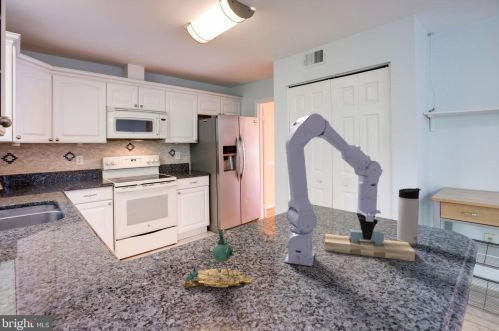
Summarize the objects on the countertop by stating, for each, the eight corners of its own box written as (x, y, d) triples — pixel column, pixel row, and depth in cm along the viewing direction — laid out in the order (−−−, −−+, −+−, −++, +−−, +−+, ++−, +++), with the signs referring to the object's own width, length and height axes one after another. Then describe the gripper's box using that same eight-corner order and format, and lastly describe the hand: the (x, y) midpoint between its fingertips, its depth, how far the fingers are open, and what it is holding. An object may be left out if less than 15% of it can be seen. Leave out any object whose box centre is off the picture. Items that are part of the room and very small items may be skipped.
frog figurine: (188, 271, 70) (193, 219, 69) (252, 279, 69) (258, 227, 69) (177, 290, 60) (183, 230, 59) (252, 299, 60) (259, 239, 59)
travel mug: (421, 247, 87) (424, 189, 85) (400, 245, 88) (402, 189, 87) (413, 240, 93) (415, 187, 91) (394, 239, 94) (396, 186, 93)
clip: (383, 254, 81) (383, 234, 81) (349, 250, 84) (350, 231, 84) (381, 251, 83) (382, 232, 83) (349, 247, 86) (349, 229, 86)
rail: (414, 261, 76) (414, 251, 76) (324, 250, 84) (324, 241, 84) (407, 251, 83) (407, 242, 83) (325, 242, 92) (325, 233, 91)
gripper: (385, 201, 74) (383, 246, 75) (377, 193, 88) (375, 231, 89) (359, 200, 77) (358, 243, 77) (355, 192, 90) (354, 229, 91)
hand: (366, 237), depth 83 cm, fingers open, 4 cm apart
